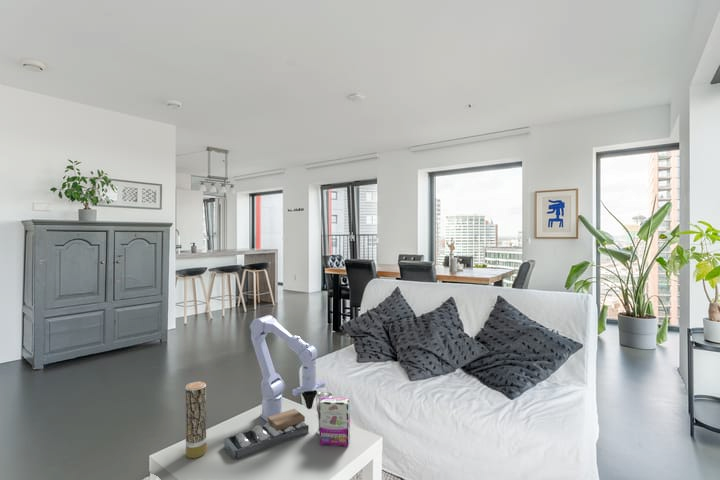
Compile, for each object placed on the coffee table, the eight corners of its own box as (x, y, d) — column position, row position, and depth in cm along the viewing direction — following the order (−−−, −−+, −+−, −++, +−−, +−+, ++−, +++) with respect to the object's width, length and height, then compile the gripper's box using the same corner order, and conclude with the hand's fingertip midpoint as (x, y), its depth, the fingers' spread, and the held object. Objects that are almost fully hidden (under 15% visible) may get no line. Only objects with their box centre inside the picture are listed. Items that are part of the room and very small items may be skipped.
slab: (267, 422, 149) (267, 417, 149) (294, 413, 157) (294, 408, 157) (277, 430, 143) (277, 425, 143) (304, 421, 150) (304, 416, 150)
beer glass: (334, 428, 153) (334, 391, 153) (331, 437, 147) (331, 399, 146) (317, 427, 154) (318, 391, 154) (314, 436, 147) (314, 398, 147)
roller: (236, 446, 141) (232, 438, 140) (246, 439, 143) (242, 431, 142) (244, 456, 135) (240, 447, 134) (254, 449, 137) (250, 440, 136)
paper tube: (198, 460, 131) (198, 389, 131) (181, 458, 132) (181, 388, 132) (210, 449, 138) (210, 382, 138) (193, 447, 139) (193, 380, 139)
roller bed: (223, 446, 140) (223, 434, 140) (294, 422, 158) (294, 411, 158) (234, 460, 131) (234, 448, 131) (308, 433, 150) (308, 422, 150)
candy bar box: (350, 440, 144) (350, 397, 144) (348, 447, 139) (348, 403, 139) (322, 438, 146) (322, 396, 146) (319, 445, 141) (319, 402, 141)
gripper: (298, 382, 148) (298, 416, 148) (328, 374, 157) (328, 406, 157) (289, 377, 154) (290, 410, 154) (319, 370, 163) (319, 400, 163)
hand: (309, 408), depth 156 cm, fingers closed
